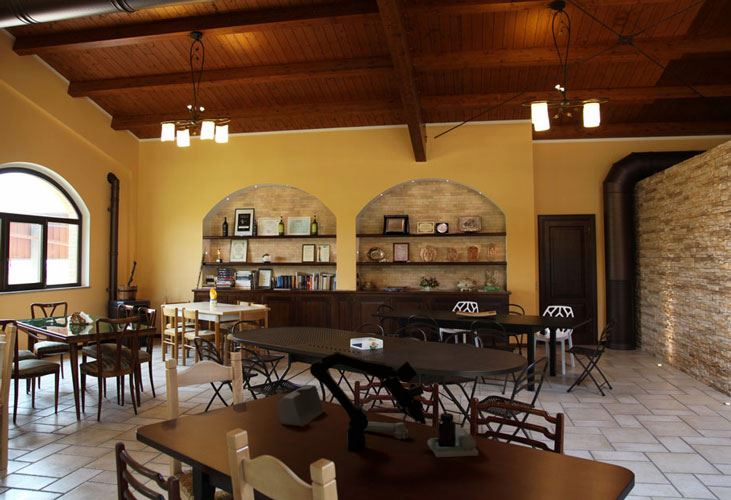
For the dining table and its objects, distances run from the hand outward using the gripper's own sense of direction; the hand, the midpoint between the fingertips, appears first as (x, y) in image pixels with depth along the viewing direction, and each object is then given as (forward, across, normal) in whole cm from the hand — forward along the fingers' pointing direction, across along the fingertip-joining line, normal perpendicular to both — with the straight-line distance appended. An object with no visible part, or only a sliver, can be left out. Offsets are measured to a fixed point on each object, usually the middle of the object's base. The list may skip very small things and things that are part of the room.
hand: (421, 422), depth 202 cm
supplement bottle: (+12, -3, -2) cm, 13 cm away
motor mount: (+15, -3, -3) cm, 15 cm away
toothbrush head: (-1, +20, +14) cm, 24 cm away
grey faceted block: (-24, +50, +37) cm, 66 cm away
